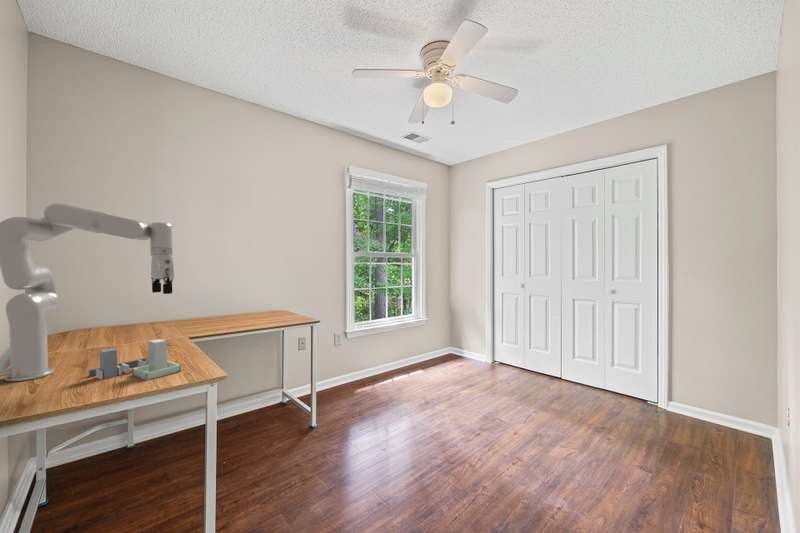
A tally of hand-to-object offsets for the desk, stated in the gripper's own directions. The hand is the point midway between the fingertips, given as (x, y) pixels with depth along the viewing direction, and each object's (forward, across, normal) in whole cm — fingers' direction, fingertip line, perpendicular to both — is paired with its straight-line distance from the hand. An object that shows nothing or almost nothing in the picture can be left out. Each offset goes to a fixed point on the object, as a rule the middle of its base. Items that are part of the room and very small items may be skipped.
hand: (162, 292), depth 143 cm
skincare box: (+30, -10, +6) cm, 32 cm away
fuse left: (+30, +1, +18) cm, 35 cm away
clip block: (+30, +1, +10) cm, 32 cm away
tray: (+30, -10, +6) cm, 33 cm away
